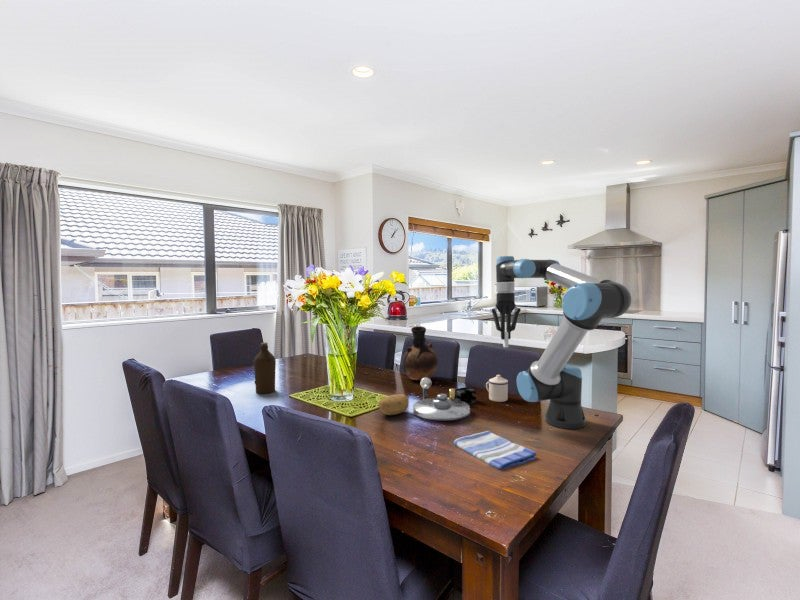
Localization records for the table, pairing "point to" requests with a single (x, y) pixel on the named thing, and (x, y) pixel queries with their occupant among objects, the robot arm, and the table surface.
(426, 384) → the dial stand
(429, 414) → the turntable
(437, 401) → the cover
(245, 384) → the table surface
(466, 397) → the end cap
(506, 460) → the dish towel
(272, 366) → the olive oil
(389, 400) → the potato
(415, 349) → the ceramic vessel
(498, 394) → the teacup with lid
